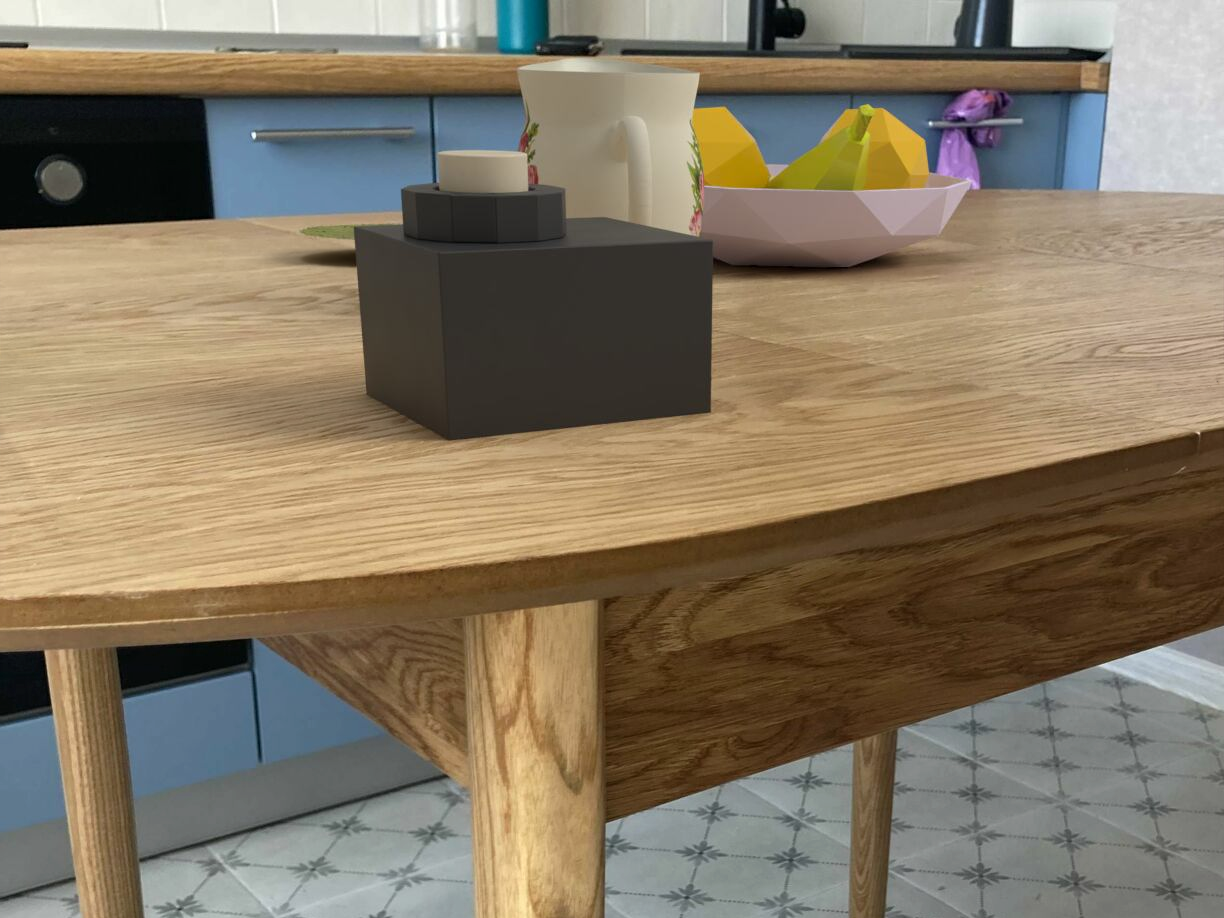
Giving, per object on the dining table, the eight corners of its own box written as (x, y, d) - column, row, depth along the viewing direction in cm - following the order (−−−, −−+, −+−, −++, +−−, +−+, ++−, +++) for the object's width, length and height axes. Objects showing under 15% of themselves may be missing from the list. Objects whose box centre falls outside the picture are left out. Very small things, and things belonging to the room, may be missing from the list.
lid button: (459, 203, 61) (457, 156, 60) (426, 195, 64) (424, 150, 63) (542, 200, 63) (541, 154, 62) (507, 193, 65) (506, 149, 65)
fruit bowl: (629, 234, 130) (628, 88, 126) (951, 242, 130) (962, 96, 125) (589, 278, 105) (586, 97, 100) (989, 289, 104) (1005, 107, 99)
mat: (288, 251, 116) (286, 223, 115) (435, 246, 120) (434, 220, 119) (319, 269, 107) (316, 240, 106) (477, 264, 111) (475, 235, 110)
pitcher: (542, 339, 83) (533, 59, 77) (505, 291, 99) (496, 56, 93) (740, 335, 85) (746, 63, 79) (673, 289, 101) (674, 59, 95)
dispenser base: (449, 442, 61) (435, 201, 57) (366, 395, 69) (349, 181, 65) (711, 413, 67) (714, 193, 63) (607, 373, 74) (604, 175, 71)
